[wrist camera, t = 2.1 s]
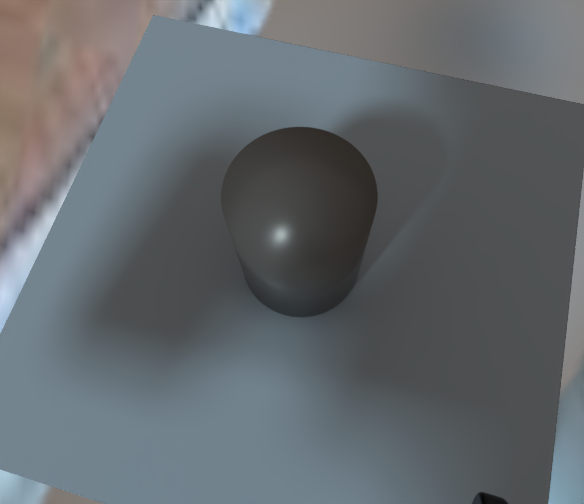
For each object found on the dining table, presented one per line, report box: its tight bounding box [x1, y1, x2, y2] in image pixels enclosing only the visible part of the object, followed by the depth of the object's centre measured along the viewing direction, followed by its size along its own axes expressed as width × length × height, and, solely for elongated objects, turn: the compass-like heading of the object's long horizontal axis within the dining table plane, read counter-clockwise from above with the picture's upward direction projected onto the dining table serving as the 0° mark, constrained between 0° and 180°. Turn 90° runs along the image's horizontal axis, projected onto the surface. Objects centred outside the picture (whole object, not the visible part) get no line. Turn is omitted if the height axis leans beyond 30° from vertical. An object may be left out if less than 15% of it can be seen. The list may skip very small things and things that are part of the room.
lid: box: [0, 15, 584, 504], centre depth 15 cm, size 16×16×6 cm
